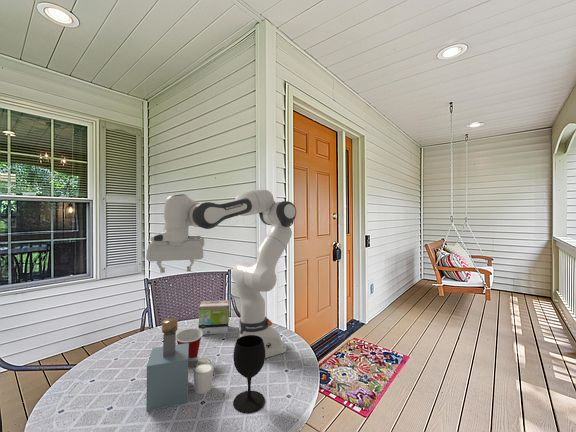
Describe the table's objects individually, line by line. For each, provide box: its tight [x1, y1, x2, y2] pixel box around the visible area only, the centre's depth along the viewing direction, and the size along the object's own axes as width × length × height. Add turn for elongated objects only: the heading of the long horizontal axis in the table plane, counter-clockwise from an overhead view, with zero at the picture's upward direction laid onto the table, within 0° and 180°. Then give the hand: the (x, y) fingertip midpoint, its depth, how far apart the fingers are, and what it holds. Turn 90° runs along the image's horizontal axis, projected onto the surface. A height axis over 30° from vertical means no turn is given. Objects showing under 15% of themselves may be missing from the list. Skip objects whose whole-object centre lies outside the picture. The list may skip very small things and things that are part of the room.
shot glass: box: [193, 363, 214, 395], centre depth 94 cm, size 7×7×7 cm
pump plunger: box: [161, 317, 179, 335], centre depth 90 cm, size 5×5×11 cm
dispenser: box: [145, 331, 199, 412], centre depth 91 cm, size 15×12×21 cm
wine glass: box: [232, 335, 266, 414], centre depth 87 cm, size 10×10×20 cm
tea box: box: [198, 299, 230, 335], centre depth 142 cm, size 15×10×15 cm, turn 102°
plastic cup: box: [176, 327, 204, 358], centre depth 110 cm, size 11×11×12 cm
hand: (175, 271), depth 103 cm, fingers open, 8 cm apart
